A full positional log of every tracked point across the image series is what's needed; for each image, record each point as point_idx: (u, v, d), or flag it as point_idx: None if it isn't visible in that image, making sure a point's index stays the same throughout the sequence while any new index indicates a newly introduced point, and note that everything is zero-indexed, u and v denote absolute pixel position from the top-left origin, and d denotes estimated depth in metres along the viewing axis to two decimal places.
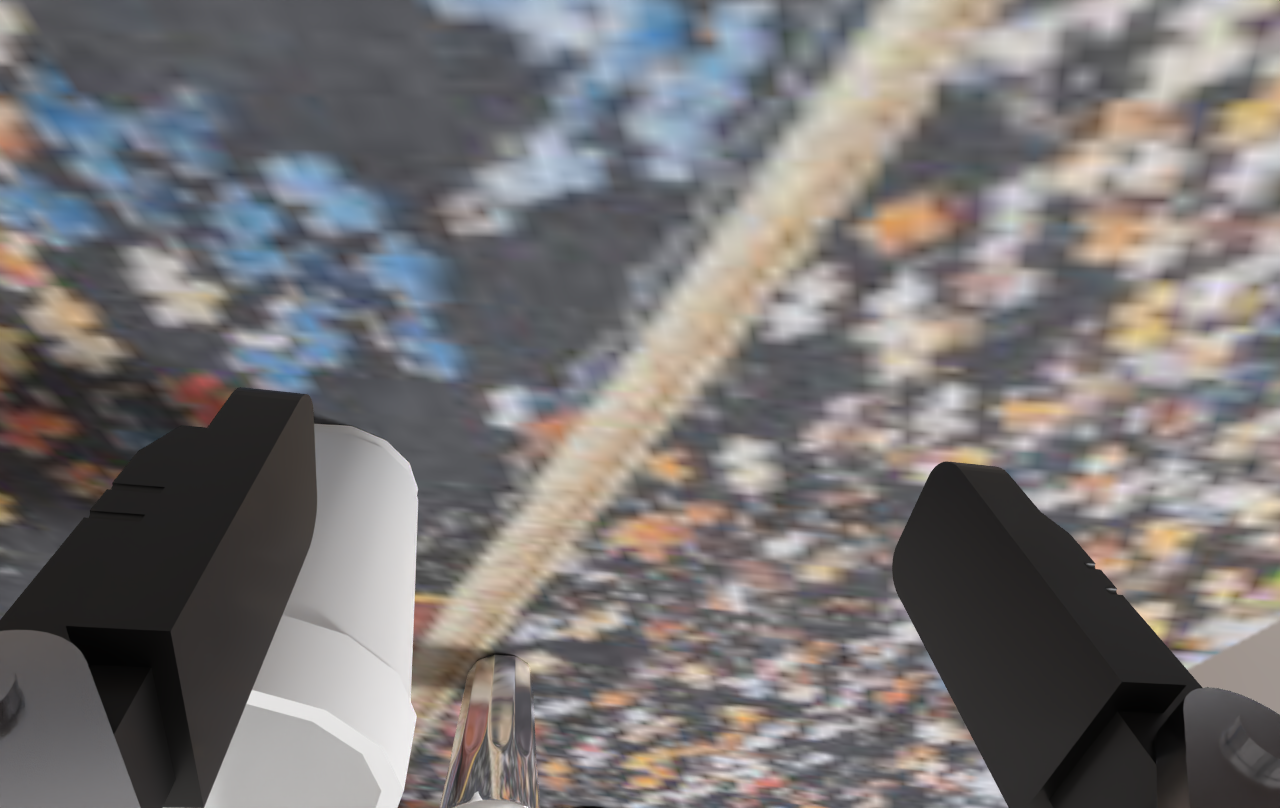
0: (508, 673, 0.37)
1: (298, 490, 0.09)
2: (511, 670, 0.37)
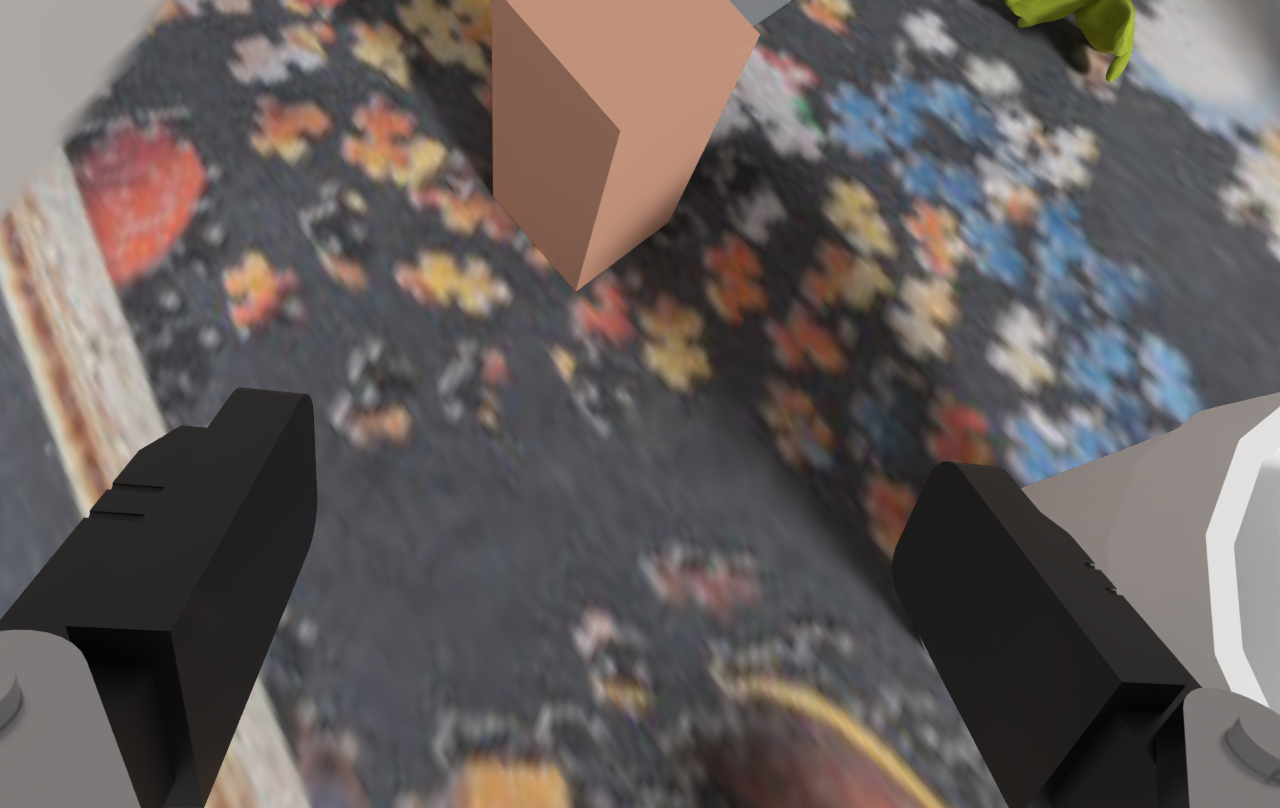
0: None
1: (298, 490, 0.09)
2: None
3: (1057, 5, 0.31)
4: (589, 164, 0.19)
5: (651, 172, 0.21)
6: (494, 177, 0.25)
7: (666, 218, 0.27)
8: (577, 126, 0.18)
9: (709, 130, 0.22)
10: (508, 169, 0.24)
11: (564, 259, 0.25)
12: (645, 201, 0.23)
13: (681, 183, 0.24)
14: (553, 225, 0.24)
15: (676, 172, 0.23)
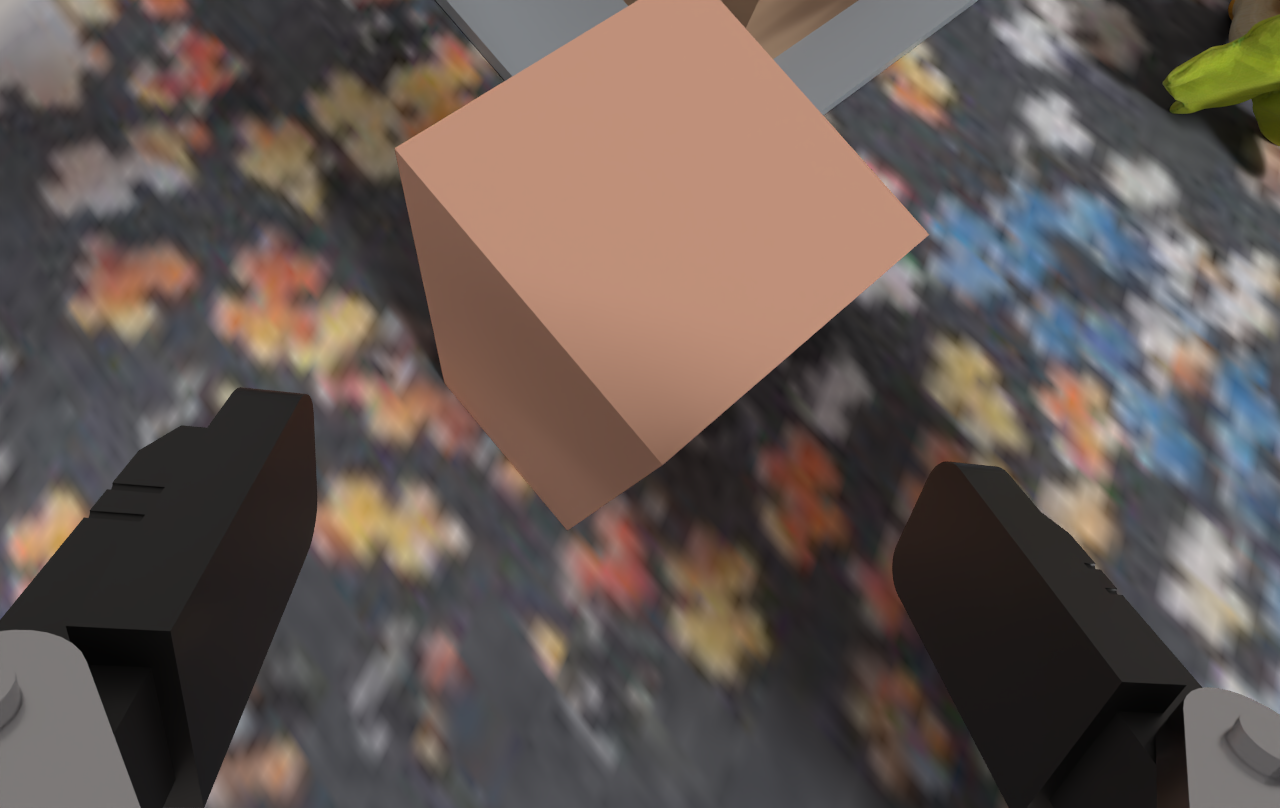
0: None
1: (298, 490, 0.09)
2: None
3: (1239, 89, 0.22)
4: (594, 455, 0.10)
5: None
6: (443, 368, 0.16)
7: None
8: (571, 404, 0.09)
9: None
10: (460, 374, 0.15)
11: (550, 497, 0.16)
12: None
13: None
14: (533, 462, 0.15)
15: None
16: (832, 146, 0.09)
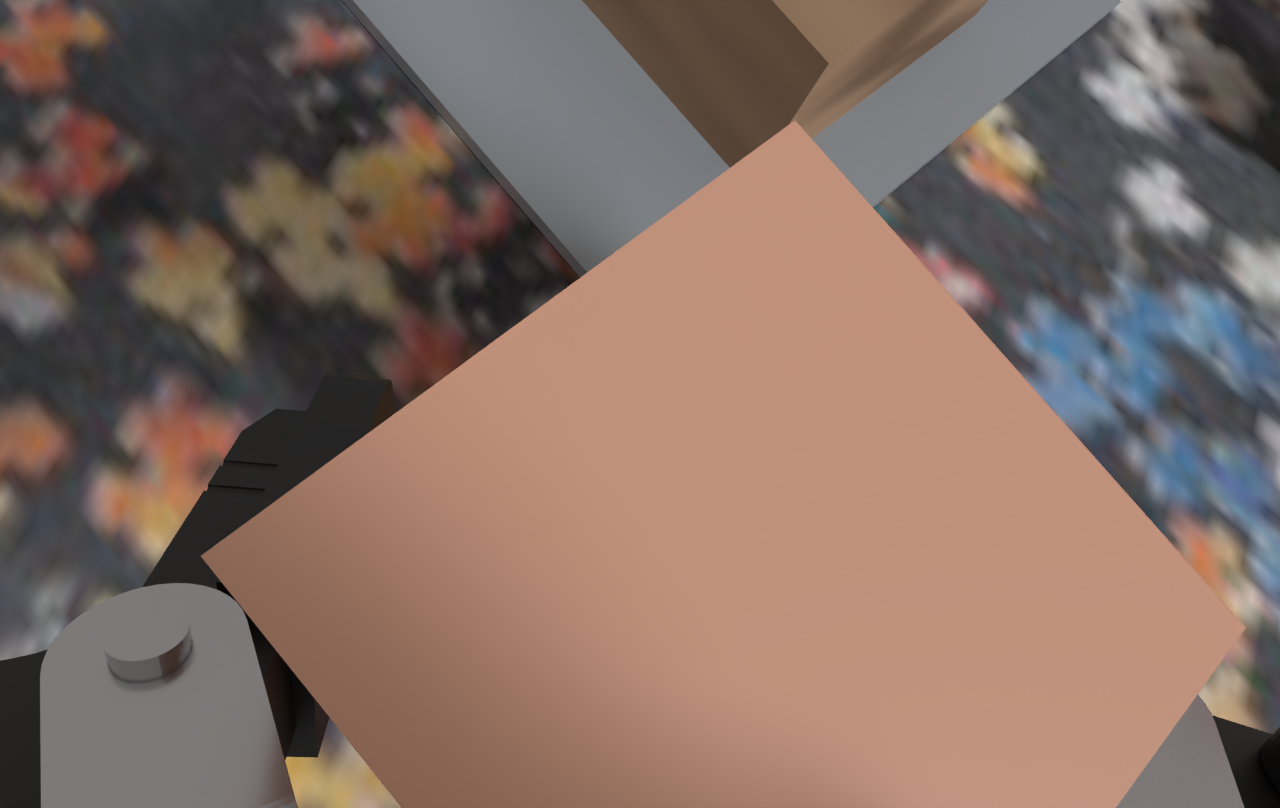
0: None
1: None
2: None
3: None
4: None
5: None
6: None
7: None
8: None
9: None
10: None
11: None
12: None
13: None
14: None
15: None
16: (1063, 460, 0.05)
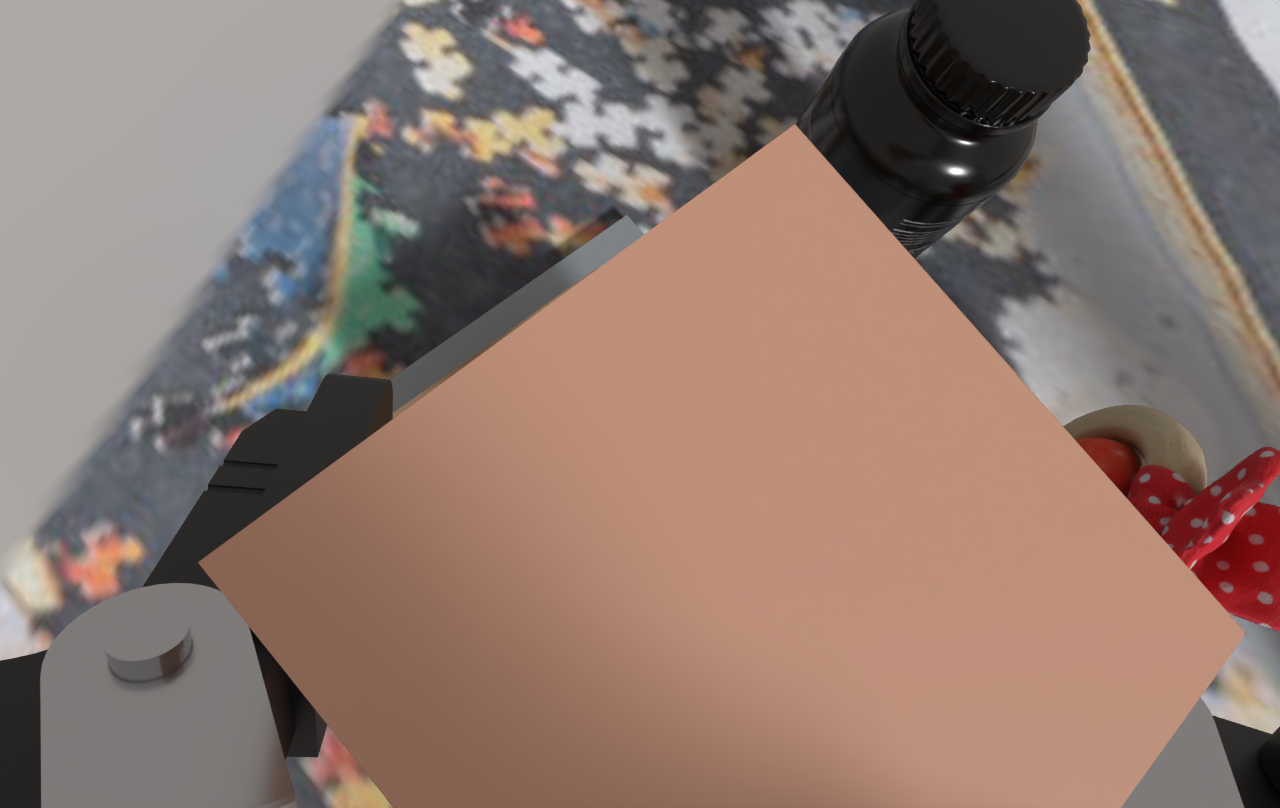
0: None
1: None
2: None
3: None
4: None
5: None
6: None
7: None
8: None
9: None
10: None
11: None
12: None
13: None
14: None
15: None
16: (1063, 465, 0.05)
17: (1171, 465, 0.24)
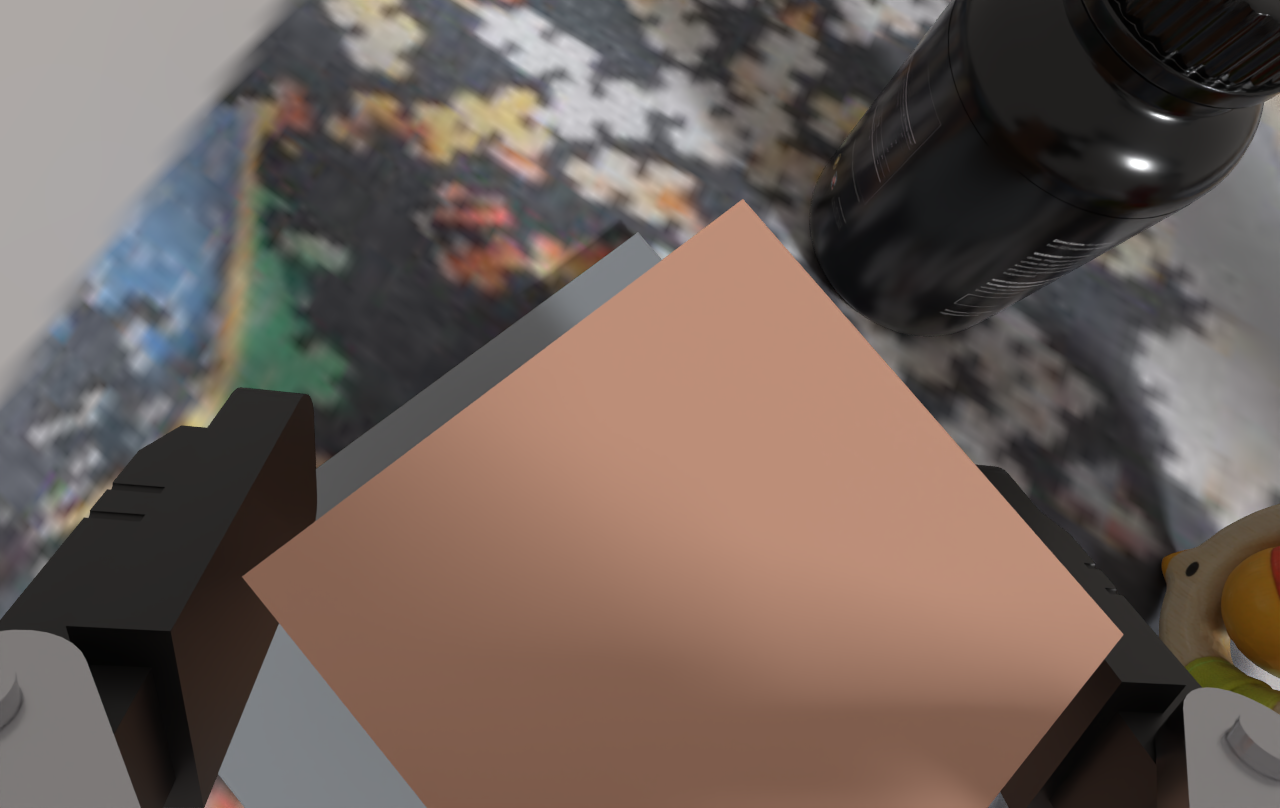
0: None
1: (298, 490, 0.09)
2: None
3: None
4: None
5: None
6: None
7: None
8: None
9: None
10: None
11: None
12: None
13: None
14: None
15: None
16: (969, 492, 0.06)
17: None
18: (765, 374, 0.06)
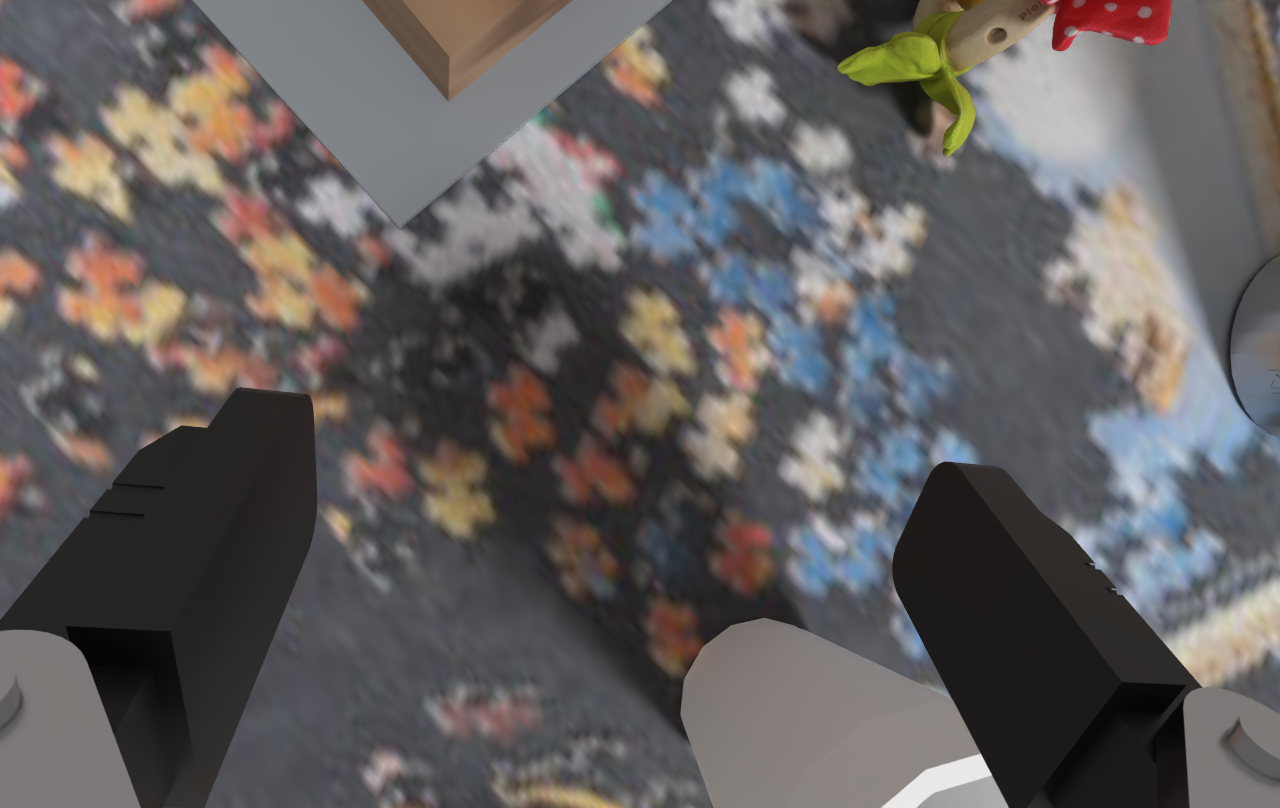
0: None
1: (298, 490, 0.09)
2: None
3: (894, 79, 0.27)
4: None
5: None
6: None
7: None
8: None
9: None
10: None
11: None
12: None
13: None
14: None
15: None
16: None
17: None
18: None
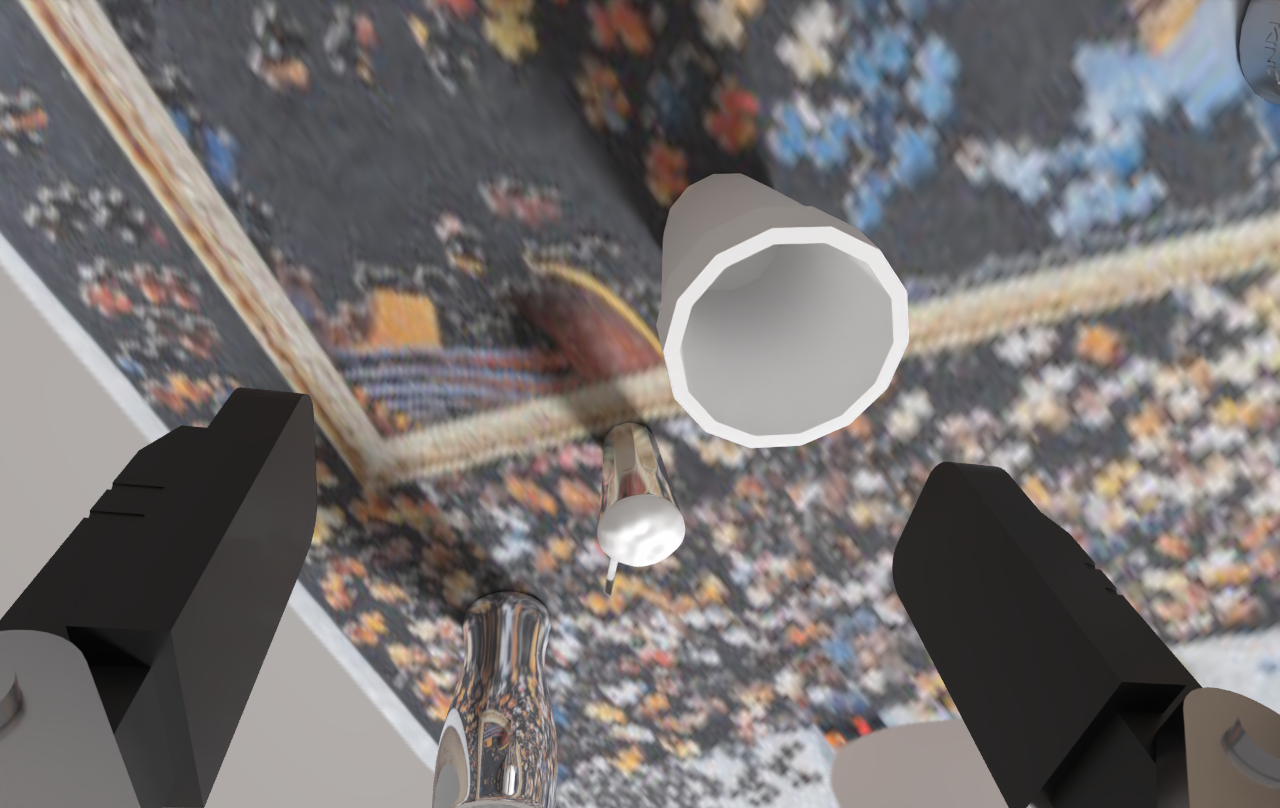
0: (655, 444, 0.45)
1: (298, 490, 0.09)
2: (655, 443, 0.45)
3: None
4: None
5: None
6: None
7: None
8: None
9: None
10: None
11: None
12: None
13: None
14: None
15: None
16: None
17: None
18: None
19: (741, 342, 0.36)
